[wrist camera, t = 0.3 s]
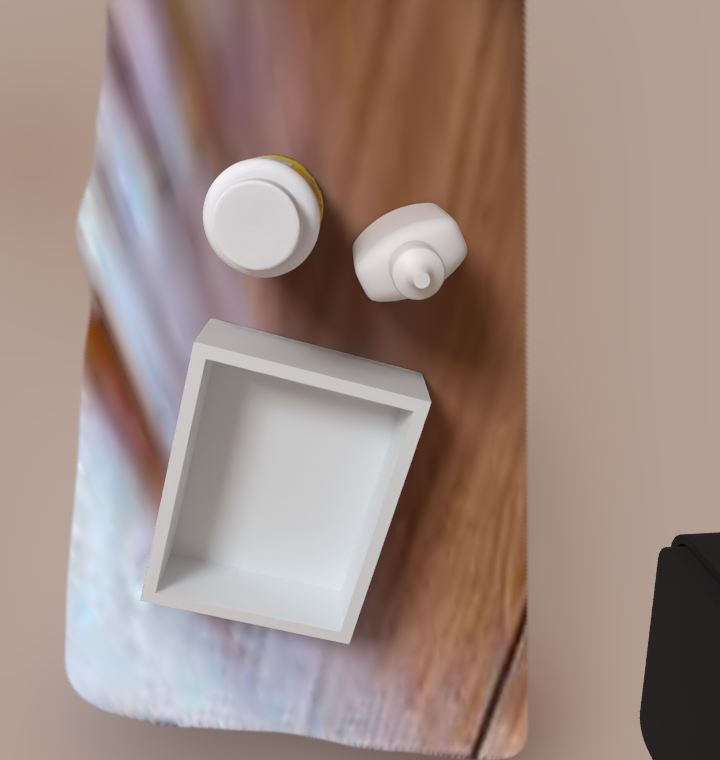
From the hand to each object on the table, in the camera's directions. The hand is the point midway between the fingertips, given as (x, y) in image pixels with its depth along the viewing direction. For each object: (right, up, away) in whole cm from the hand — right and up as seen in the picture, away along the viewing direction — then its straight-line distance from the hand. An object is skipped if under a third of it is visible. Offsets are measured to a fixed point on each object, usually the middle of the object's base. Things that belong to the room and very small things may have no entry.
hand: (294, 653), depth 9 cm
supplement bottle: (-4, +14, +31) cm, 34 cm away
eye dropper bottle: (+3, +12, +32) cm, 34 cm away
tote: (-4, -2, +37) cm, 37 cm away
